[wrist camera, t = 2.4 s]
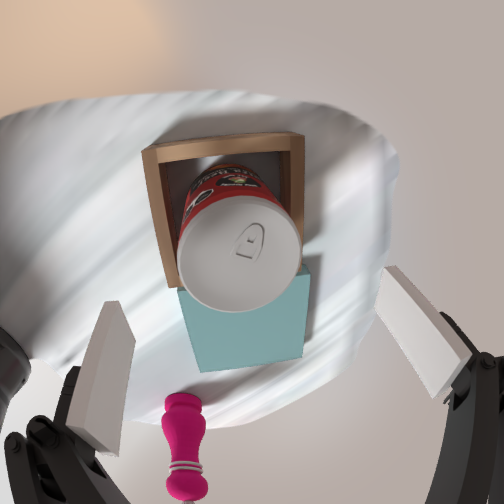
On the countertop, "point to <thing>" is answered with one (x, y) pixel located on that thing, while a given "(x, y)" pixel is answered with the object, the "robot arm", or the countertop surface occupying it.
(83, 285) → the countertop surface
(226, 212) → the canned food
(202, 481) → the pepper mill
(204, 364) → the plate
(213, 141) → the collar
